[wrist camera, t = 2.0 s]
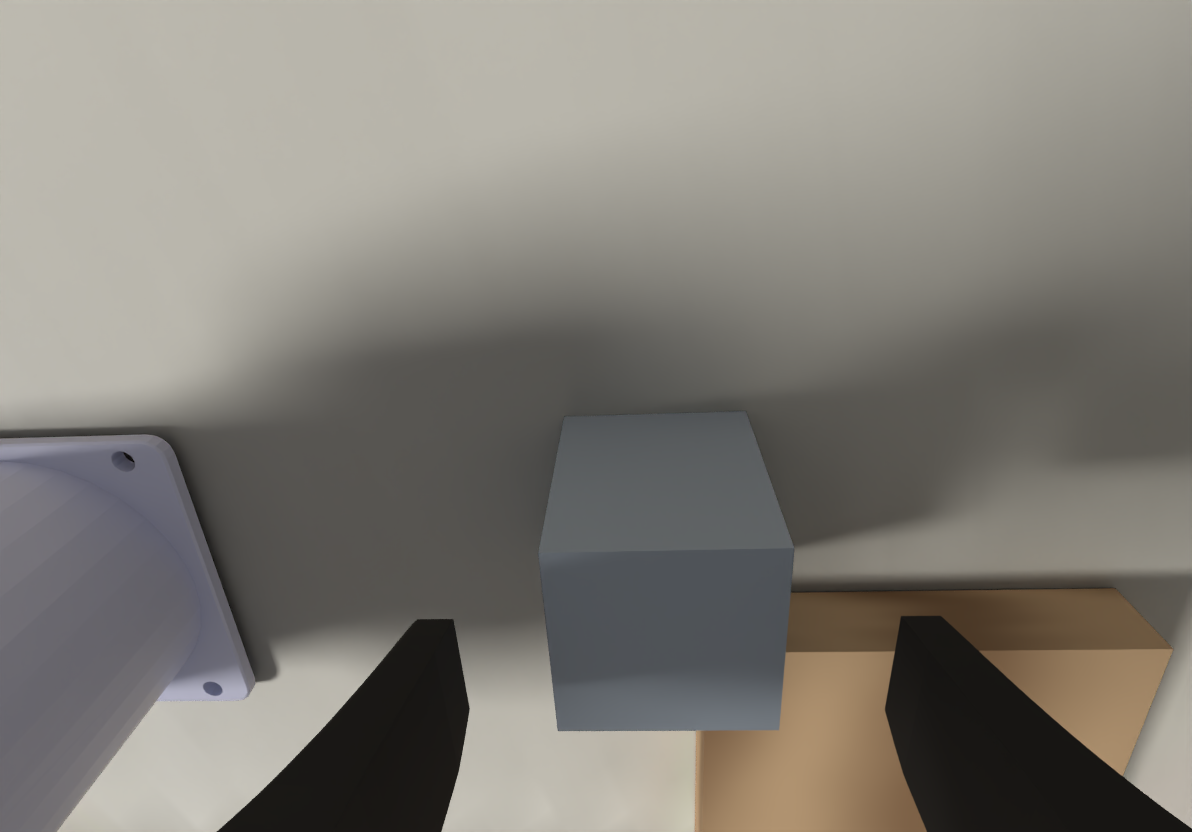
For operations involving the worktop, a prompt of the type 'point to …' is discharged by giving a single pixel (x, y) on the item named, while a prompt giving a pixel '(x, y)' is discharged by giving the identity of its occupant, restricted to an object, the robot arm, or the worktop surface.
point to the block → (665, 575)
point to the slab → (859, 691)
